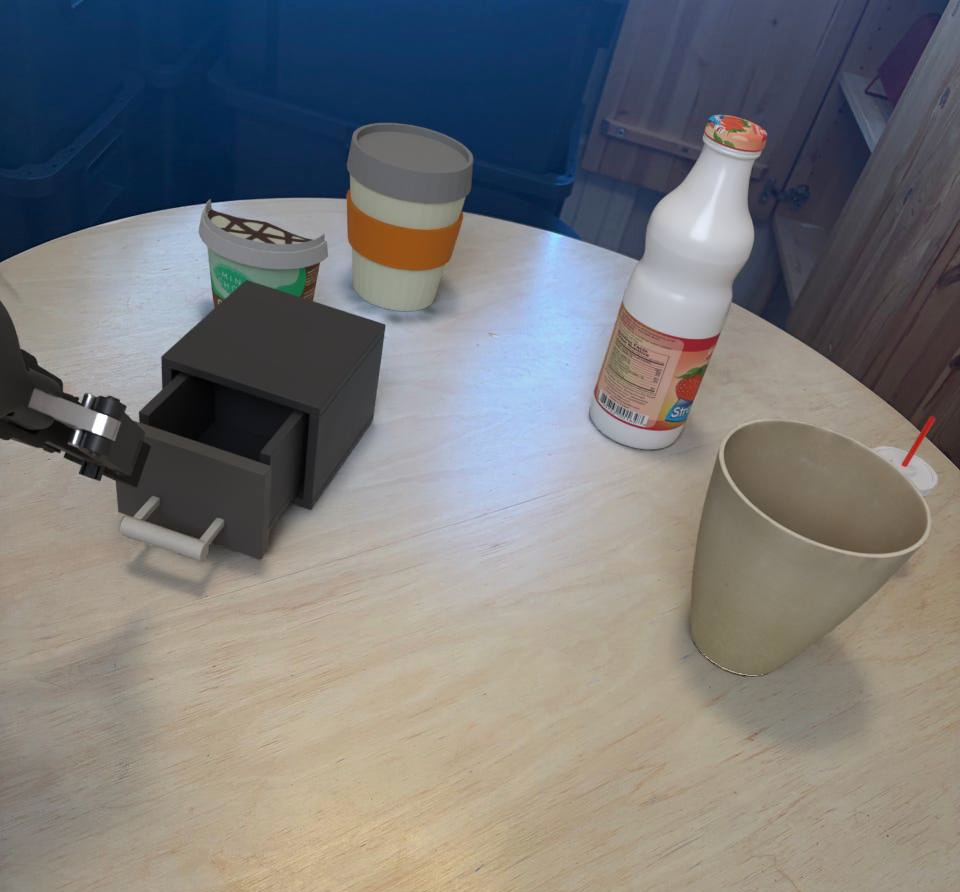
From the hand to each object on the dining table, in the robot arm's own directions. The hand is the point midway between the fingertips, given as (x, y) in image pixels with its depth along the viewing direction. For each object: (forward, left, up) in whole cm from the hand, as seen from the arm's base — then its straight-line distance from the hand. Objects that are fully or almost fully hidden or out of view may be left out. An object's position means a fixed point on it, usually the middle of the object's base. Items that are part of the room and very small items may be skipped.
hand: (132, 463), depth 60 cm
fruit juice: (+17, +49, -12) cm, 53 cm away
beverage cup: (+41, +46, -12) cm, 63 cm away
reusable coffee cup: (-14, +53, -12) cm, 56 cm away
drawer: (-3, +11, -11) cm, 16 cm away
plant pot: (+36, +26, -12) cm, 46 cm away
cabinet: (-6, +22, -12) cm, 26 cm away
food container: (-19, +35, -12) cm, 41 cm away
